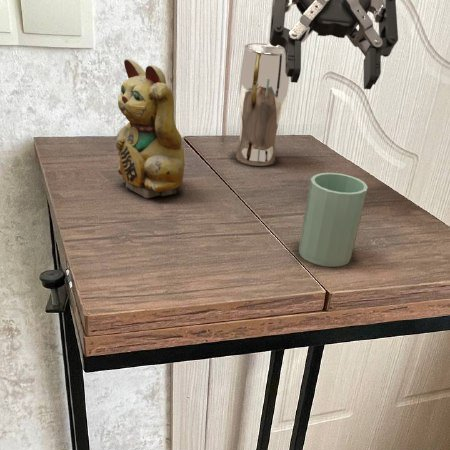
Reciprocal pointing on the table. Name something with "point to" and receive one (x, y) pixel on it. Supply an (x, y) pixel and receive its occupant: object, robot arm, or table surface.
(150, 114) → the decorative figurine
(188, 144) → the table surface
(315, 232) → the cup
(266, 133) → the beer glass
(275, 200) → the table surface
